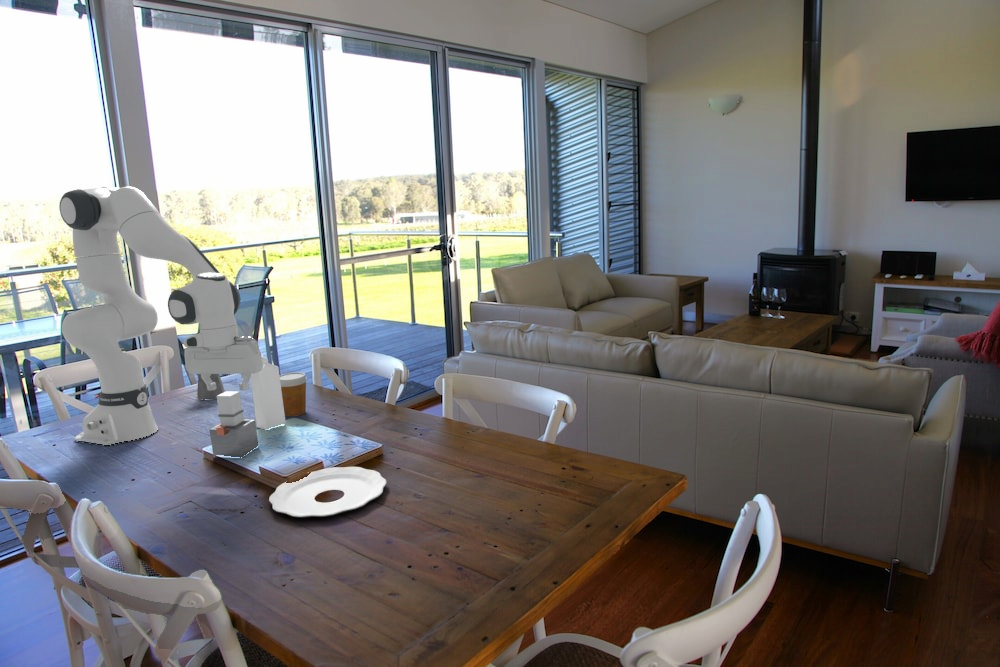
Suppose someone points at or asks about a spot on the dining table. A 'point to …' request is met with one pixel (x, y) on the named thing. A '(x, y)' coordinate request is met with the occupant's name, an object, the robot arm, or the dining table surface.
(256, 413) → the milk
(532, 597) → the dining table surface
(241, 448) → the stand
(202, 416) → the dining table surface
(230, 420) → the column
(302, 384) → the disposable coffee cup
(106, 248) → the robot arm
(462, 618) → the dining table surface
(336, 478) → the plate
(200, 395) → the coffeepot
